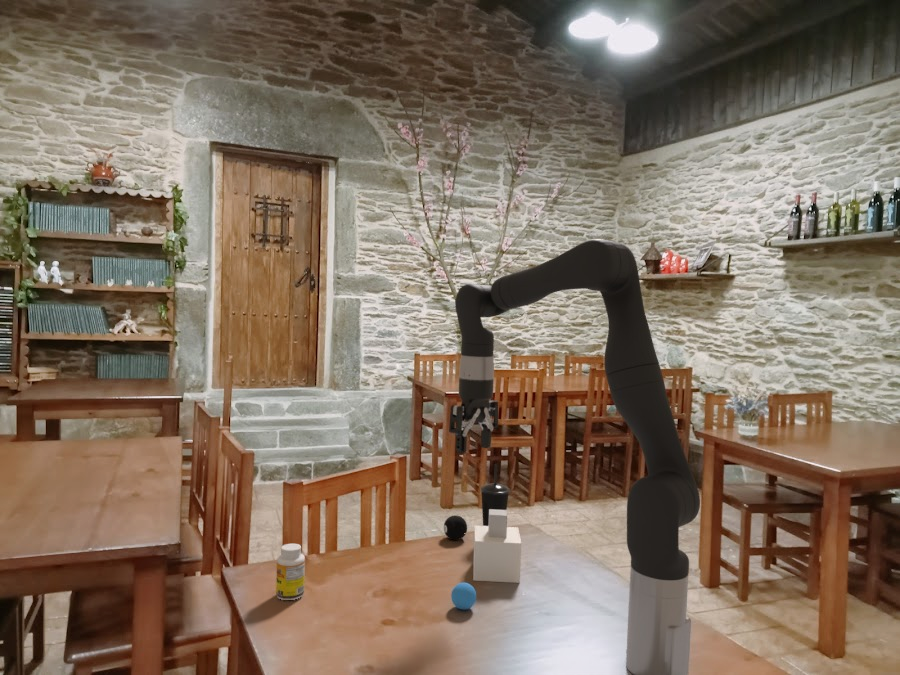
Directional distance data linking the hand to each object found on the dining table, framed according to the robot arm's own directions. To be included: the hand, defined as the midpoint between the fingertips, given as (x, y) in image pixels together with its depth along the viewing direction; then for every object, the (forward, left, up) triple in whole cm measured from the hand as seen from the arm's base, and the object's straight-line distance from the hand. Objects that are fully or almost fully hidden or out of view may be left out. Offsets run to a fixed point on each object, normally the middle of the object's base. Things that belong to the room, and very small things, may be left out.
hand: (473, 450), depth 139 cm
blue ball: (-9, +10, -26) cm, 30 cm away
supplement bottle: (+17, +34, -29) cm, 48 cm away
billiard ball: (+20, -15, -29) cm, 38 cm away
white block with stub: (-1, -8, -29) cm, 30 cm away
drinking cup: (+13, -22, -29) cm, 39 cm away
